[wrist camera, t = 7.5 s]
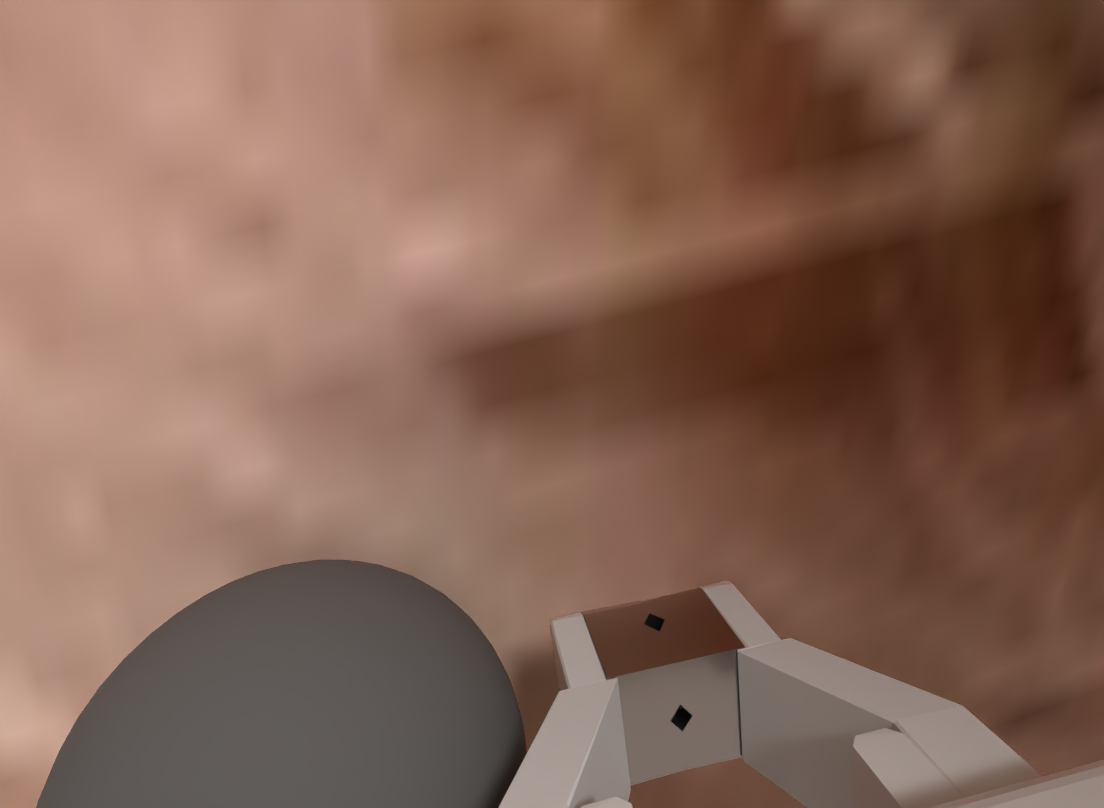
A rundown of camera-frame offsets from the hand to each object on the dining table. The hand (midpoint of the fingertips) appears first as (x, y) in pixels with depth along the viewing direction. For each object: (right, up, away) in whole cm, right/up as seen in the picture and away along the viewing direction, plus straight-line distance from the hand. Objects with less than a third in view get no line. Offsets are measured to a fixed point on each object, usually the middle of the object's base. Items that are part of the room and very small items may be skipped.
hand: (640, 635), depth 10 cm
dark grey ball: (-5, -2, -1) cm, 5 cm away
